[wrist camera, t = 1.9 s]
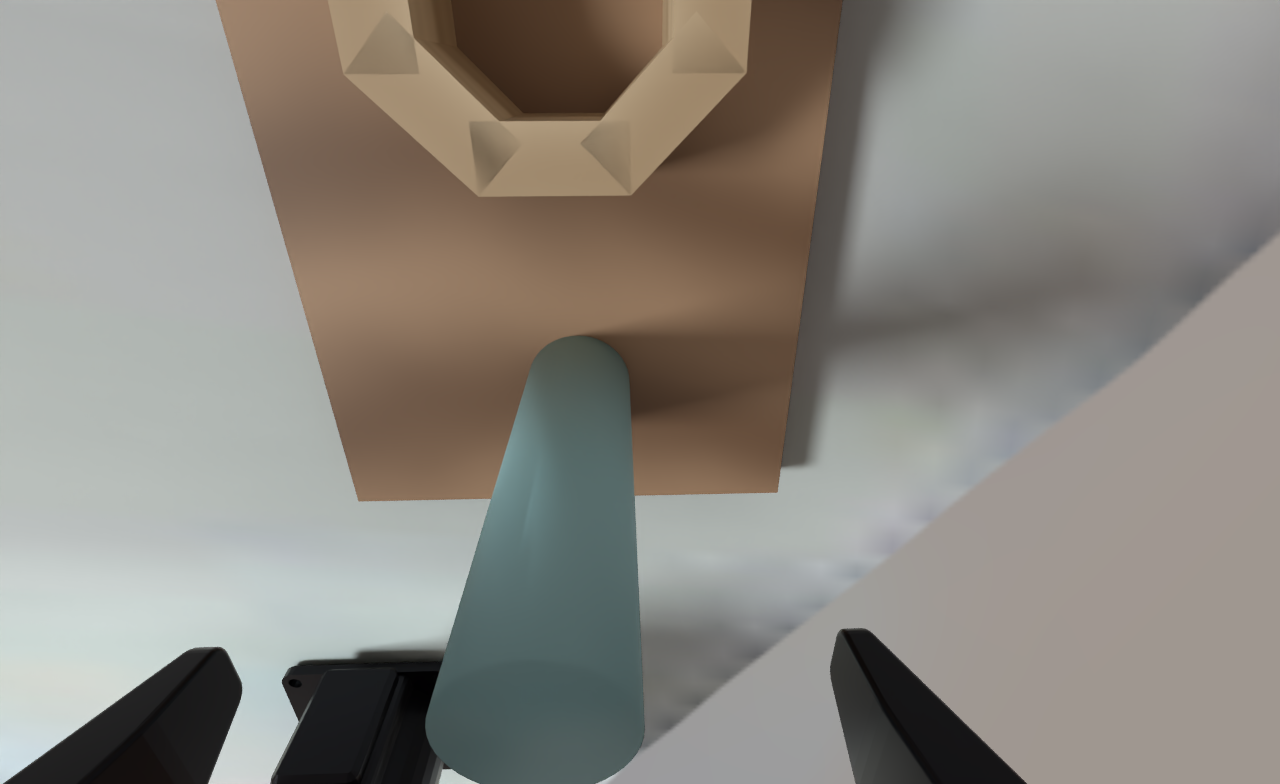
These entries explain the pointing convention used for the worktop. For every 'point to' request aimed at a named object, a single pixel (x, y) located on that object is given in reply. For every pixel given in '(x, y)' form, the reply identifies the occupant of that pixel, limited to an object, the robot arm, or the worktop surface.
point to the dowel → (551, 591)
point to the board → (545, 245)
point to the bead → (539, 142)
